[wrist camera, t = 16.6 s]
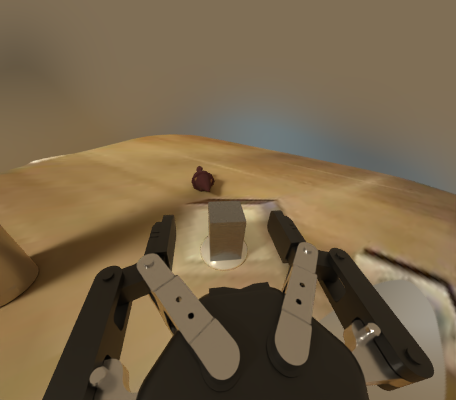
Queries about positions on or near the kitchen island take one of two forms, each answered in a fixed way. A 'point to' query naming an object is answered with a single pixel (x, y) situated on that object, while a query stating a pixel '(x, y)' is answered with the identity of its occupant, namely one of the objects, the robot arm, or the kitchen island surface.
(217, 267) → the saucer
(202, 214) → the kitchen island surface
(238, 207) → the grey block
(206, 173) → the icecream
